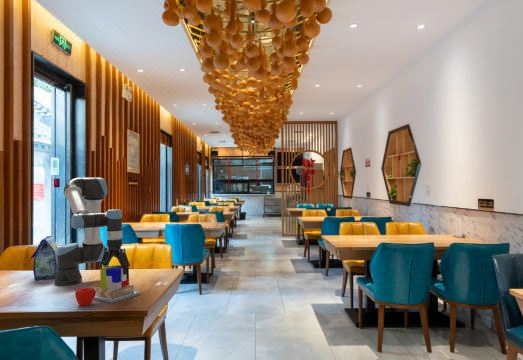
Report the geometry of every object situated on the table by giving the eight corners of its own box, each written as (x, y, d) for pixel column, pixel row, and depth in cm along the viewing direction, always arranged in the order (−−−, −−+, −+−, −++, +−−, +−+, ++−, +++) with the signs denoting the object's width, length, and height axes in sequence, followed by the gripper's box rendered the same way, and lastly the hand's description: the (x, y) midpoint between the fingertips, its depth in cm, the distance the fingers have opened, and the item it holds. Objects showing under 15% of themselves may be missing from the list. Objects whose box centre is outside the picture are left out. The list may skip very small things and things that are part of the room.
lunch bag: (36, 274, 257) (36, 236, 258) (63, 272, 263) (63, 234, 263) (29, 281, 236) (28, 239, 237) (59, 278, 242) (58, 238, 243)
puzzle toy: (117, 289, 191) (117, 269, 192) (100, 288, 194) (100, 269, 194) (129, 284, 201) (128, 265, 201) (112, 283, 203) (112, 265, 204)
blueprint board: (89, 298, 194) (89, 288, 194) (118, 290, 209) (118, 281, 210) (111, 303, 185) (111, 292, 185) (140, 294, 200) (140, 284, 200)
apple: (98, 301, 188) (98, 286, 188) (91, 307, 179) (90, 290, 179) (80, 302, 188) (80, 286, 188) (71, 307, 179) (71, 291, 179)
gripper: (93, 238, 201) (93, 278, 201) (124, 240, 188) (125, 283, 188) (105, 237, 208) (106, 275, 207) (136, 239, 195) (137, 280, 194)
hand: (115, 279), depth 197 cm, fingers open, 13 cm apart
